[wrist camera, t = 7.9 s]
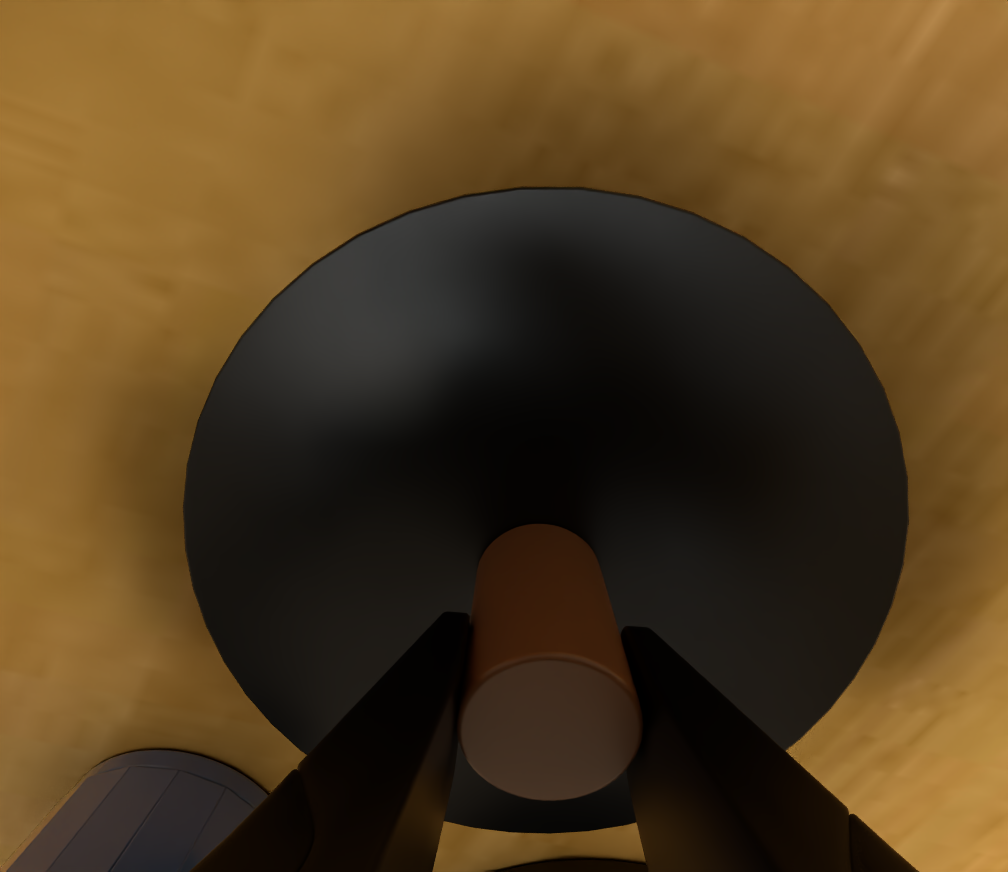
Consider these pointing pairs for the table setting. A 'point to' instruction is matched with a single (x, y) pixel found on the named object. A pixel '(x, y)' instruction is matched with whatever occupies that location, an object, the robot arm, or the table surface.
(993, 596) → the table surface
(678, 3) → the table surface
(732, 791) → the robot arm
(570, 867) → the pot
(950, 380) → the table surface
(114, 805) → the cup
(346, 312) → the lid
